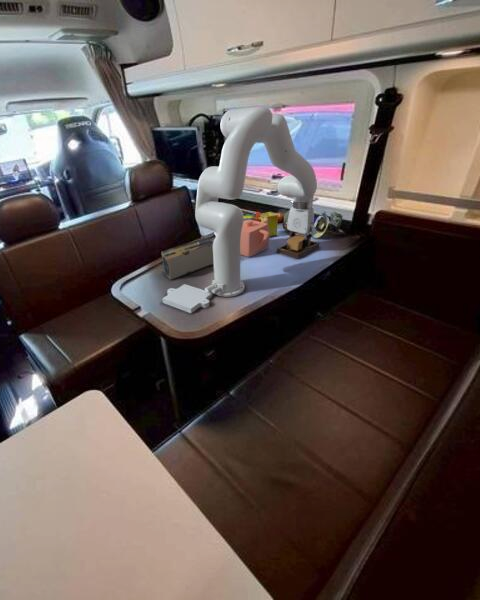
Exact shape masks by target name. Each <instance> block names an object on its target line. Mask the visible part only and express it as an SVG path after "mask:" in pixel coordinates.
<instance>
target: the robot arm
mask: <svg viewBox="0 0 480 600" xmlns="http://www.w3.org/2000/svg"><path fill="white" fill-rule="evenodd" d="M287 122H288V121H287V120H286V118H285V116H284V115H283V114H281V113H273V112H272V111H271V109H269V108H268V107H265V106H248V107H242V108H241V107H239V108H233V109H229V110H227V111H226V112H225V113H224V114H223V115H222V117H221V119H220V124H219V125H220V131H221V133H222V135H223V136H224V137H225V138H226V140H225V141H224V144H223V146H222V149H221V153H220V160H219V165H217V166H216V165H215V166H208V167H206V168H205V169H204V170H203V171H202V173H201V174H200V176H199V178H198V182H197V191H196V200H195V209H194V210H195V211H194V212H195V213H194V216H195V221H196V223H197V225H198V226H200V227H201V228H203V229H206V230H210V231H212V230H213V232H217V236H215V237H214V239H213V262H214V264H213V279H212V281H211V284H210V285H208V286H206V287H205V288H204V290H205V291H206V292H211V293H212V294H214V295H216V296H217V297H218V296H219V297H225V298H232V297H236V296H238V295H240V294H242V293H243V292H244V291H245V287H246V286H245V283H244V282H243V281H242V280H241V255H240V239H241V230H242V226H243V220H244V213H243V211H242V209H241V208H240V207H239V206H237V205H234V204H232V203H227V202H221V201H220V202H219V199H223V200H237V199H239V198H240V197H241V196H242V194H243V192H244V188H245V182H246V177H247V169H248V163H249V159H250V154H251V151H252V150H253V147H254V146H255V145H256V144H257V143H258V144H259V143H260V144H261V143H262V144H263V145H264V147H265V149H266V152H267V154H268V157H269V159H270V163H271V165H272V166H273V167H275V168H277V169H279V170H281V171H283V172H284V173H287V174H290V175H286V176H283V177H282V178H280V180H279V181H278V183H277V187H276V188H277V189H276V190H277V192H278V194H279V195H281V196H282V197H283V196H284V197H290V198H293V199H292V200H290V203H291V204H292V206H291V207H290V209H289V210H290V212H289V217H288V223H287V224H286V225H285V226H284V227H285V228H286V230H287V231H286V230H285V231H286V232H287V233H288V237H289V238H291V237H293V236H295V235H297V234H299V233H301V234H303V235H304V239H303V244H302V248H305V247H307V246H308V243H309V238H310V237H311V238H312V237H314V236H313V235H315V234H316V233H317V231H316V229H315V228H314V219H315V210H314V207H313V206H314V205H313V204H314V198H315V197H314V195H315V193H316V191H317V187H318V181H317V175H316V173H315V170H314V168H313V166H312V165H311V163H310V162H309V161H308V160H307V159H306V158H305V157H304V156H303V155H301V154H300V153H299V152H298V151H296V149H295V148H296V147H295V145H294V142H293V138H292V134H291V132H290V128H289V125H288V123H287ZM296 233H297V234H296Z"/></svg>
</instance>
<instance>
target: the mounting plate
mask: <svg viewBox="0 0 480 600" xmlns="http://www.w3.org/2000/svg"><path fill="white" fill-rule="evenodd" d="M166 292H167V293H166V294H167V295H165V296H164V297H162V299H161V300H162V304H165V305H168V306H169V307H173V308H176V309H178V310H181V311H184V312H186V313H188V314H193V313H194V312H196V311H197V310H198V309H200V308H203V309H207V308H208V307H210V299H211V298H212V297H213V292H212V291H210V292H206V291H205V289H202V288H198V287H195V286H192V285H189V284H185V283H183V284H182V285H181V286H179V287H178V288H173V287H171V288H168V289H167V290H166Z"/></svg>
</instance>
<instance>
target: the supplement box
mask: <svg viewBox="0 0 480 600" xmlns="http://www.w3.org/2000/svg"><path fill="white" fill-rule="evenodd" d="M275 213H276V212H273V211H268V212H263V213H262V212H261V213H260V214H261V222H262V221H267V222H266V223H268V227H269V233H270V237H269V238H274V237H277V236H278V223H279V222H278V214H275Z"/></svg>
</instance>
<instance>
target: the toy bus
mask: <svg viewBox="0 0 480 600" xmlns="http://www.w3.org/2000/svg"><path fill="white" fill-rule="evenodd" d="M213 242H214V240H211V239H208V238H206V237H202V238H199V239H196V240H193V241H190V242H187V243H184V244H181V245H177V246H175V247H172V248H169V249H166V250H162V251H161V253H160V254H161V260H162V266H163V272H164V274H165V276H166V277H167V278H168V279H170V280H174V279H177V278H179V277H182V276H185V275H191V274H192V273H193V272H195V271H197V270H198V271H199V270H200V269H203V268H206V267H208V266H209V267H212V266H213V265H214V262H213Z"/></svg>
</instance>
